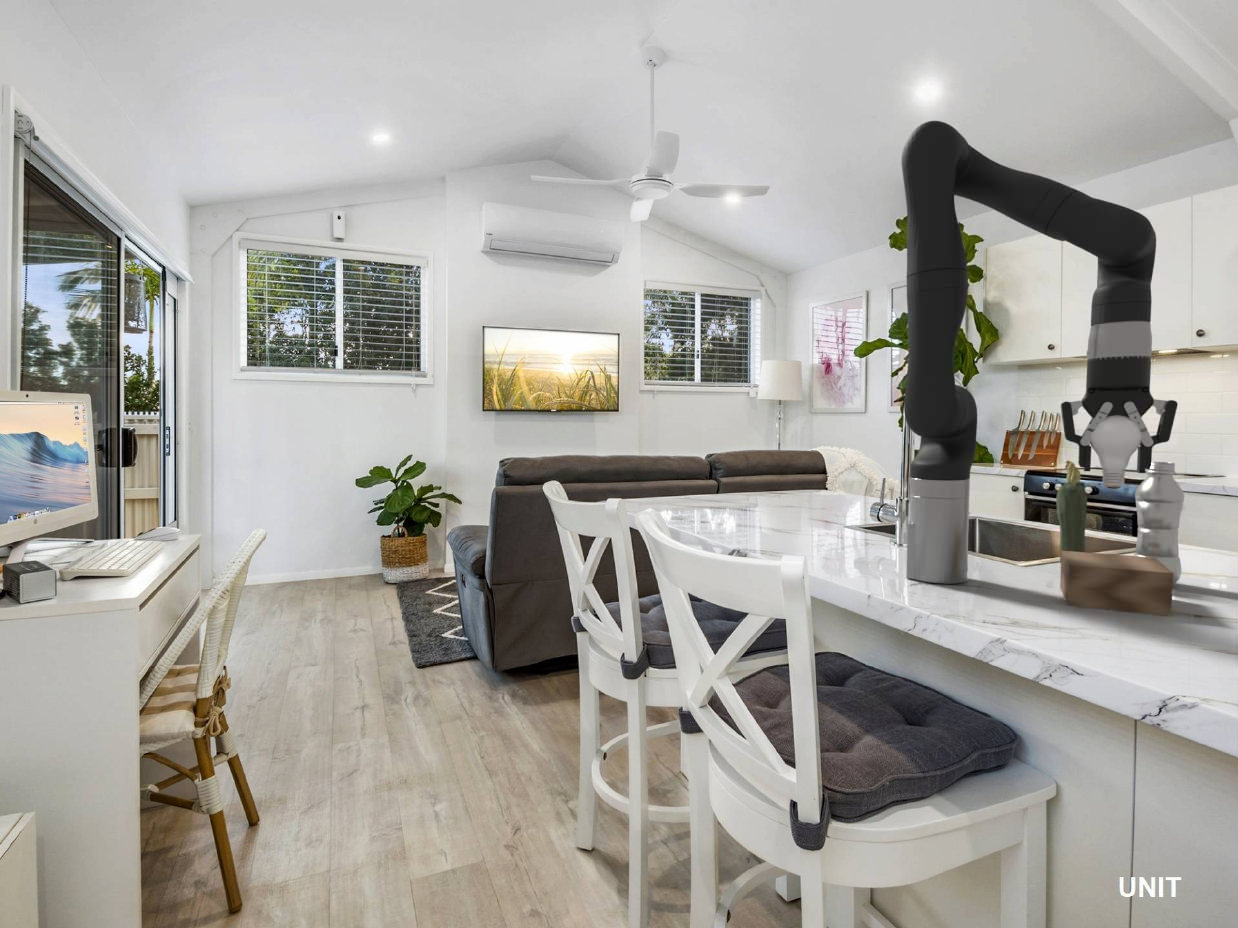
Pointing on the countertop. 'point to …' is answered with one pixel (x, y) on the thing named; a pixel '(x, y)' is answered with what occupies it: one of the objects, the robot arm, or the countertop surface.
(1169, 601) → the riser block
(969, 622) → the countertop surface
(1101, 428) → the lightbulb
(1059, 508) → the vegetable
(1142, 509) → the plastic bottle
